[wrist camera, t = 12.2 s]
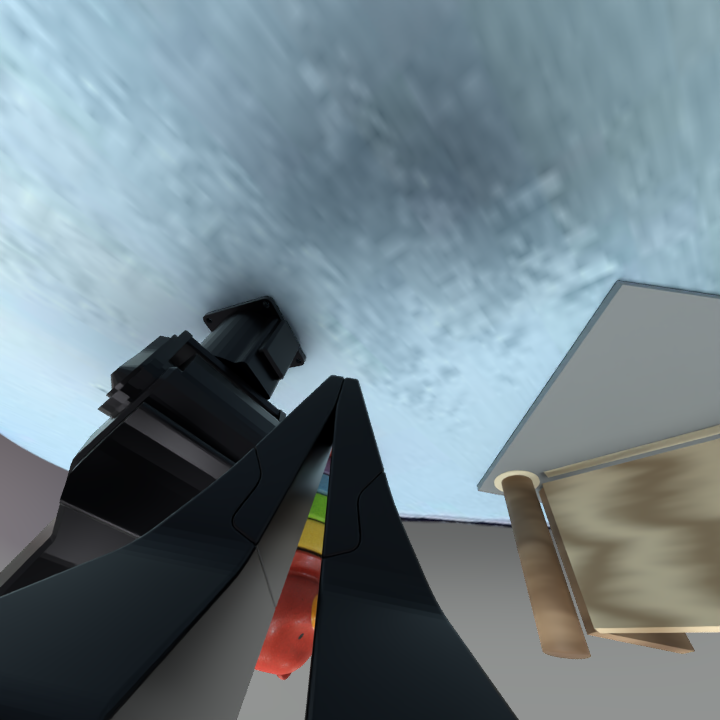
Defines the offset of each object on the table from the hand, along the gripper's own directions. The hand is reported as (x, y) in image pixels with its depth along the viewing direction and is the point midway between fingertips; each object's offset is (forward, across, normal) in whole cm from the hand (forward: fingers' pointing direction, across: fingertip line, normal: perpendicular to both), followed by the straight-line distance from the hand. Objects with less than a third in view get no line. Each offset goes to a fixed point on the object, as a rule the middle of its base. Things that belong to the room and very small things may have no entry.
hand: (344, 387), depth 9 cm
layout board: (+13, -24, +12) cm, 30 cm away
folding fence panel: (+11, -25, +14) cm, 31 cm away
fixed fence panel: (+12, -22, +22) cm, 33 cm away
